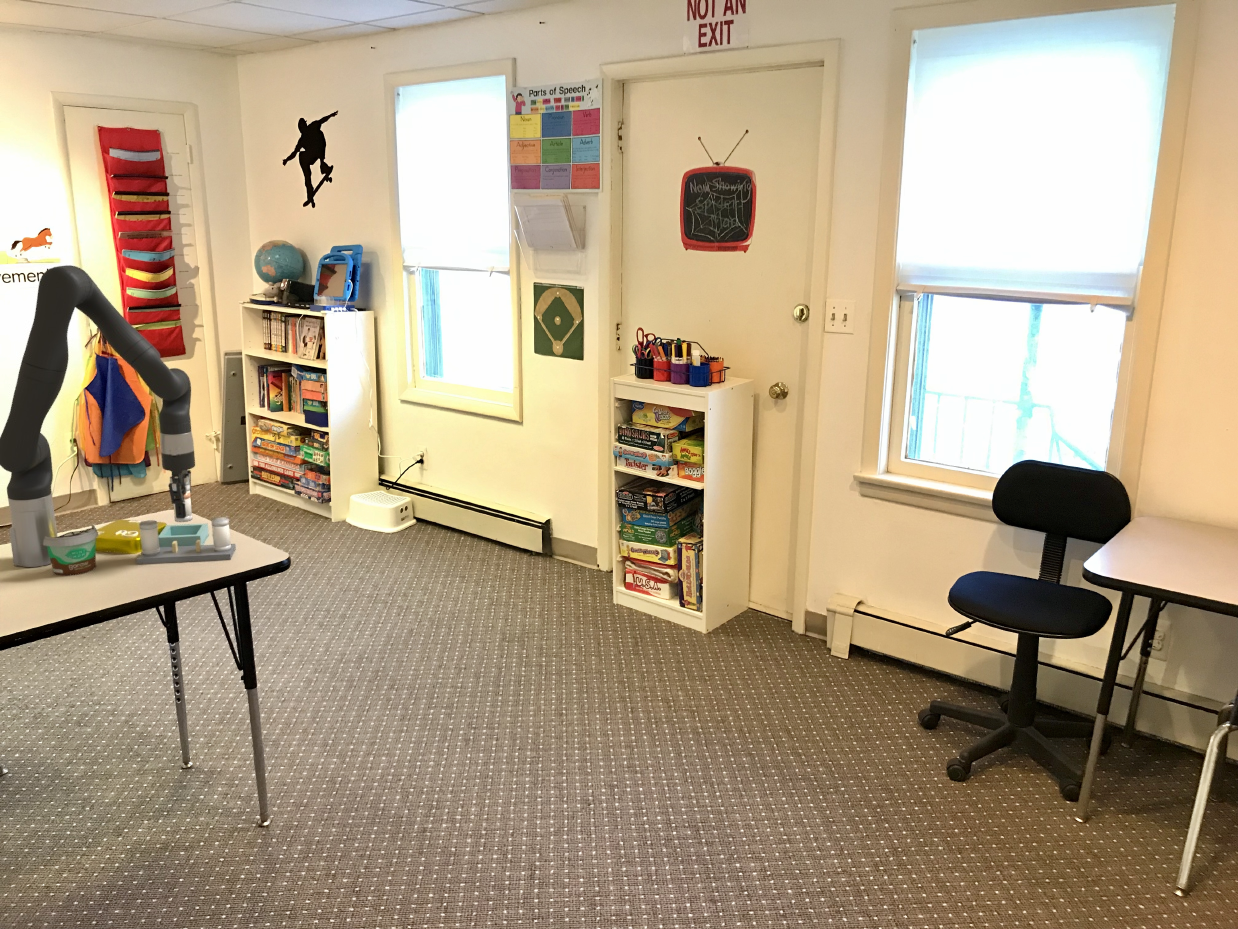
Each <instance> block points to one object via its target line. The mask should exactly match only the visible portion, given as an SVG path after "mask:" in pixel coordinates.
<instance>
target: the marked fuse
mask: <svg viewBox="0 0 1238 929" xmlns="http://www.w3.org/2000/svg"><path fill="white" fill-rule="evenodd" d="M183 490H184V489H182V491H183ZM191 496H192V495H191V493H190V485H189V484H187V494H185V508H186V517H185V518H177V517H176V510H175V504H173V512H174V514H173V515H174V522H175V523H188V522H191V521H192V520H193V513H192V502H191V501H192V500H191ZM177 499H180V498H179V497H178V496H177Z"/></svg>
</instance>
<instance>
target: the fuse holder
mask: <svg viewBox="0 0 1238 929" xmlns="http://www.w3.org/2000/svg"><path fill="white" fill-rule="evenodd" d="M142 521H143V522H140V523H139V528H140V536H141V545H142V552H140V553H139V554H138V556H136V565H148V564H149V565H151V564H167V563H168V564H169V563H170V564H171V563H189V562H190V563H191V562H193V563H194V562H210V561H211V562H212V561H230V560H232V558H233V555H234V554H235V551H236V547H237V546H236V543H231V534H230V519H229V518H228V517H225V516H224V517H223V516H222V517H215V518H213V519H211V529H212V530H211V531H212V540H213V541H212V542H213V544H204V545H201V540H197V541H196V546H177V541H173V543H172V547H159V538H158V528H157V527H158V526H157V522H158V521H157V520H153V519H152V520H151V519H150V520H142Z"/></svg>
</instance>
